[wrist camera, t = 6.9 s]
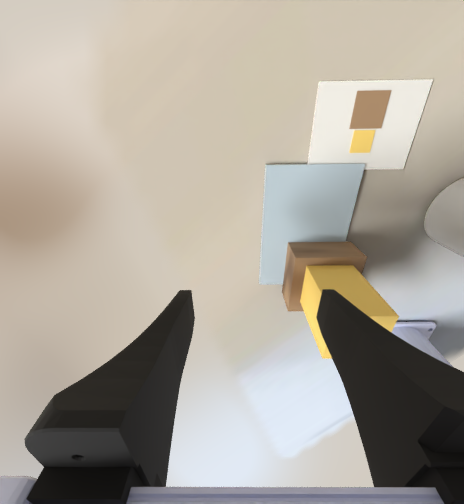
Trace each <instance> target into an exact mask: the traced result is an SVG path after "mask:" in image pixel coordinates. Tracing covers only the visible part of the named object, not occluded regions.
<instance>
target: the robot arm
mask: <svg viewBox="0 0 464 504" xmlns="http://www.w3.org/2000/svg"><path fill="white" fill-rule="evenodd" d="M316 318H317V321H318V325H319V328H320V331H321V334H322V337H323V339H324V341H325V344H326V346H327V348H328V350H329V352H330V355H331V357H332V359H333V361H334V363H335V366H336V368H337V370H338V372H339V374H340V377H341V379H342V382H343V384H344V387H345V390H346V393H347V396H348V399H349V402H350V405H351V408H352V411H353V414H354V417H355V420H356V423H357V426H358V430H359V433H360V437H361V440H362V443H363V447H364V450H365V454H366V457H367V461H368V465H369V469H370V472H371V476H372V480H373V484H374V487H367V488H366V487H166V480H167V472H168V463H169V455H170V448H171V441H172V433H173V426H174V419H175V413H176V406H177V400H178V394H179V387H180V382H181V378H182V373H183V369H184V366H185V361H186V358H187V354H188V350H189V346H190V342H191V338H192V334H193V327H194V319H195V317H194V309H193V301H192V293H191V290H180V291H179V292H178V293H177V295H176V296H175V297H174V298H173V300H172V301H171V302H170V303H169V305H168V306H167V307H166V308H165V310H164V311H163V312H162V313H161V314H160V315H159V316H158V317H157V318H156V320H155V321H154V322H153V323H152V324H151V325H150V326H149V327H148V328H147V329H146V330H145V331H144V332H143V333H142V334H141V335H140V336H139V337H138V338H136V339H135V340H134V341H133V342H132V343H131V344H130V345H128V346H127V347H126V348H125V349H124V350H122V351H121V352H120V353H118V354H117V355H116V356H115V357H113V358H112V359H111V360H110V361H108V362H107V363H105V364H104V365H102V366H101V367H100V368H98V369H96V370H95V371H93V372H92V373H91V374H89V375H87V376H86V377H84V378H83V379H81V380H80V381H78V382H76V383H74V384H73V385H71V386H69V387H68V388H66V389H64V390H63V391H61V392H59V393H58V394H56V395H54V397H53V398H52V399H51V401H50V402H49V404H48V405H47V406H46V408H45V409H44V411H43V412H42V414H41V415H40V417H39V418H38V420H37V421H36V423H35V424H34V426H33V427H32V429H31V430H30V432H29V433H28V435H27V436H26V438H25V446H26V448H27V449H28V451H29V452H30V453H31V454H32V455H33V456H34V457H35V458H36V459H37V460H38V461H39V462H40V463H41V464H42V465H43V466H44V468H43V470H42V472H41V474H40V476H39V477H38V479H36V478H32V477H28V476H0V504H464V372H462V371H460V370H458V369H456V368H454V367H453V366H452V365H451V364H450V363H449V362H448V361H447V360H446V359H445V358H444V357H443V356H442V355H441V353H440V352H439V351H438V350H437V349H436V348H435V347H434V346H433V345H432V344H431V343H430V342H429V341H428V340H429V338H430V336H431V335H432V333H433V331H434V329H435V328H436V324H435V323H434V322H396V324H395V326H394V328H393V330H392V332H390V331H388V330H387V329H386V328H384V327H383V326H381V325H380V324H378V323H377V322H376V321H374V320H373V319H371V318H370V317H369V316H367V315H366V314H365V313H363V312H362V311H361V310H360V309H358V308H357V307H356V306H355V305H353V304H352V303H351V302H350V301H348V300H347V299H346V298H345V297H343V296H342V295H341V294H339V293H338V292H337V291H336V290H334V289H323V290H322V294H321V298H320V303H319V307H318V312H317V316H316Z"/></svg>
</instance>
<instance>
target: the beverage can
mask: <svg viewBox="0 0 464 504" xmlns="http://www.w3.org/2000/svg"><path fill="white" fill-rule="evenodd" d="M424 228H425V231H426V233H427V235H428V236H429V237H430V238H431V239H432V240H434V241H435V242H437V243H439V244H441V245H443V246H444V247H446V248H448V249H450V250H452V251H453V252H455V253H457V254H459V255H461V256H462V257H464V178H462V179H459V180H457V181H456V182H454V183H452V184H451V185H449V186H448V187H446V188H445V189H444V190H443V191H441V192H440V193H439V194H438V195H437V196H436V198H435V199H434V200H433V201H432V203H431V204H430V206H429V208H428V210H427V212H426V215H425V219H424Z"/></svg>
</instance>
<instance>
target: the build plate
mask: <svg viewBox="0 0 464 504" xmlns="http://www.w3.org/2000/svg"><path fill="white" fill-rule="evenodd" d="M364 167H365V164H364V163H343V164H265V181H264V199H263V217H262V236H261V254H260V272H259V284H283V280H284V271H285V263H286V254H287V246H288V242H345V241H346V237H347V233H348V229H349V226H350V222H351V218H352V214H353V210H354V206H355V202H356V198H357V194H358V190H359V186H360V182H361V178H362V175H363V171H364Z"/></svg>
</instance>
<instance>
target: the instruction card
mask: <svg viewBox="0 0 464 504" xmlns="http://www.w3.org/2000/svg"><path fill="white" fill-rule="evenodd" d="M432 82H433V79H422V80H365V81H319V83H318V90H317V98H316V105H315V112H314V119H313V126H312V134H311V141H310V148H309V155H308V162H307V164H343V163H364V164H365V167H364V170H371V169H403V168H404V165H405V162H406V159H407V156H408V153H409V150H410V147H411V144H412V141H413V138H414V136H415V133H416V130H417V127H418V124H419V121H420V118H421V115H422V112H423V109H424V106H425V103H426V100H427V97H428V94H429V91H430V88H431V85H432Z"/></svg>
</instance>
